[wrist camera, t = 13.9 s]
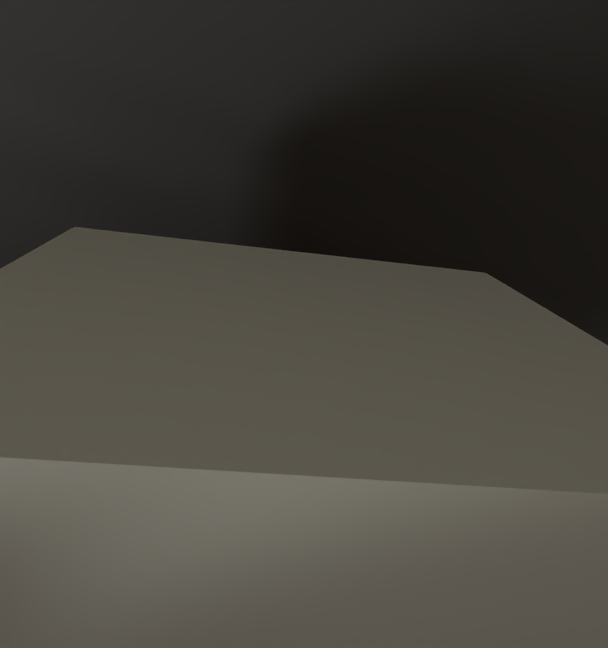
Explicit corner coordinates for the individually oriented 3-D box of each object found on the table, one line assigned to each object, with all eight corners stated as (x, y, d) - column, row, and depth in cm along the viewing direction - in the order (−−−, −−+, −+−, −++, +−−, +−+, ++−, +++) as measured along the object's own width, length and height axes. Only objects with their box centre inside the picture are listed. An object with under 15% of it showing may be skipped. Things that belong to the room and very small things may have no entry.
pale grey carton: (70, 663, 11) (-129, 1263, 5) (74, 226, 9) (-301, 438, 3) (393, 669, 12) (536, 1190, 6) (485, 272, 9) (885, 512, 4)
